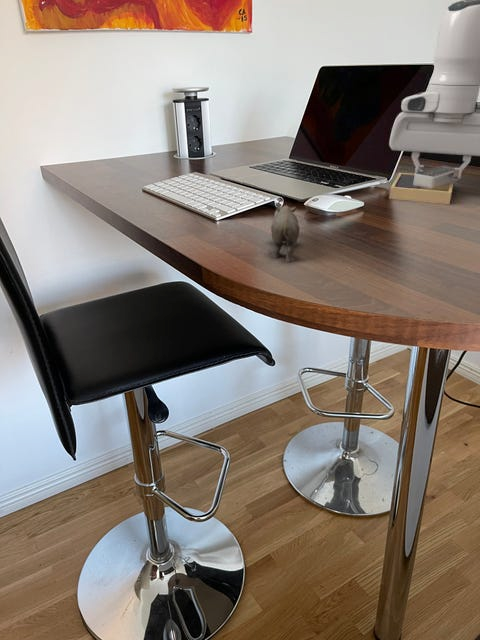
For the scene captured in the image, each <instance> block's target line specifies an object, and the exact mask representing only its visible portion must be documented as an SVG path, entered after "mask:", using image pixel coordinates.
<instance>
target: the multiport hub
mask: <svg viewBox="0 0 480 640" xmlns="http://www.w3.org/2000/svg"><path fill="white" fill-rule="evenodd" d="M454 168H456V167H454V166H450V165H449V166H448V165H441V166H437V167H436V166H435V167H433V168H430V169H429V168H428V169H426V170H423V171H422V172H418V173H415V172H414V174H415V175H414V182H413V185H414V186H419V187H424V188H429V189H435V188H438V187H441V186H444V185H447V184H450V183H453V184H454V183H456V182H459V181H461V178H460V179H456V178H453V173H454Z"/></svg>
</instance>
